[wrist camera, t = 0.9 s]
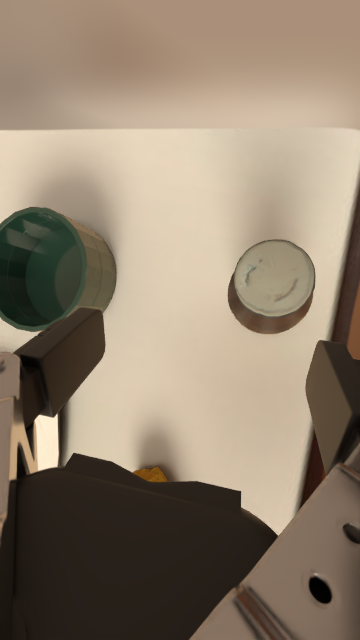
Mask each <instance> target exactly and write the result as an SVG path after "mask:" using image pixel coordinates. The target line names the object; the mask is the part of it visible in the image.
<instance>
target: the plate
mask: <svg viewBox="0 0 360 640" xmlns="http://www.w3.org/2000/svg"><path fill="white" fill-rule="evenodd" d="M35 424H36V434H37V459H38V471H40V470H44V469H48V468H53V467H59V461H60V413H59V412H58V413H57V414H56V416H55V417H54V418H52V417H47V416H42V415H39V416H38V417H37V418H36V419H35Z"/></svg>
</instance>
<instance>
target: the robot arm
mask: <svg viewBox="0 0 360 640" xmlns="http://www.w3.org/2000/svg"><path fill="white" fill-rule="evenodd" d="M104 352H105V334H104V322H103V314H102V311H101V310H100V309H94V308H86V307H80V308H78V309H77V310H76V311H75V312H73V313H72V314H71V315H69V316H68V317H66V318H63V319H61V320H58V321H56V322H54V323H52V324H51V325H50V326H48V327H47V328H46V329H45V330H43V331H42V332H40V333H39V334H38V336H35V337H34V338H32V339H31V340H30V341H28V342H27V343H26V344H24V345H23V346H22V347H20V348H19V349H17V350H16V351H15V352H13V353H7V352H2V353H0V640H360V360H355V359H353V358H352V357H351V355H350V353H349V352H348V349H347V347H346V346H345V344H344V343H338V342H330V341H323V340H319V341H318V343H317V345H316V348H315V351H314V355H313V358H312V361H311V365H310V368H309V372H308V375H307V379H306V396H307V400H308V404H309V408H310V412H311V416H312V420H313V424H314V428H315V432H316V436H317V440H318V444H319V448H320V452H321V456H322V460H323V464H324V468H325V472H326V478H325V479H324V480H323V481H322V483H321V484H320V485H319V486H318V488H317V489H316V490H315V491H314V493H313V494H312V495H311V496H310V498H309V499H308V500H307V501H306V503H305V504H304V505H303V506H302V508H301V509H300V510H299V511H298V513H297V514H296V515H295V516H294V518H293V519H292V520H291V521H290V523H289V524H288V525H287V526H286V528H285V529H284V530H283V532H282V533H281V534H280V535H279V536H278V535H277V534H276V533H275V532H274V531H273V530H272V529H271V528H270V527H269V526H268V525H266V524H265V523H264V522H263V521H262V520H260V519H259V518H258V517H256V516H255V515H253V514H252V513H250V512H249V511H247V510H245V509H243V508H241V491H236V490H232V489H228V488H223V487H219V486H215V485H211V484H206V483H202V482H198V481H187V482H150V481H147V480H145V479H143V478H141V477H139V476H137V475H135V474H134V473H132V472H130V471H128V470H126V469H124V468H122V467H121V466H119V465H117V464H115V463H113V462H111V461H107V460H102V459H98V458H94V457H89V456H85V455H81V454H76V453H73V455H72V456H71V458H70V459H69V461H68V462H67V464H66V466H60V467H53V468H48V469H44V470H40V471H38V459H37V434H36V424H35V419H36V418H37V417H38V416H39V415H42V416H47V417H52V418H54V417H55V416H56V414H57V413H58V412H59V411H60V410H61V408H62V407H63V406H64V405H65V403H66V402H67V401H68V400H69V398H70V397H71V396H72V395H73V394H74V392H75V391H76V390H77V389H78V387H79V386H80V385H81V384H82V383H83V381H84V380H85V379H86V378H87V376H88V375H89V374H90V373H91V371H92V370H93V369H94V368H95V367H96V365H97V364H98V363H99V362H100V360H101V359H102V357H103V355H104Z"/></svg>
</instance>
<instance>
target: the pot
mask: <svg viewBox="0 0 360 640" xmlns="http://www.w3.org/2000/svg"><path fill="white" fill-rule="evenodd" d="M115 284H116V268H115V262H114V258H113V256H112V253H111V251H110V249H109V247H108V246H107V244H106V243H105V241H104V240H103V239H102V238H101V237H100V236H99V235H97V234H96V233H95V232H93V231H92V230H90V229H88V228H87V227H85V226H83V225H81V224H79V223H77V222H75V221H73V220H71V219H69V218H67V217H65V216H63V215H61V214H59V213H57V212H55V211H53V210H51V209H49V208H38V207H30V208H26V209H23V210H20V211H17V212H15V213H13V214H12V215H11V216H9V217H8V218H7V219H5V220H4V221H3V222H2V223H1V224H0V317H1V319H2V320H3V321H5V322H7V323H8V324H10V325H11V326H13V327H15V328H16V329H20V330H25V331H30V332H41V331H43V330H45V329H46V328H47V327H48V326H50V325H51V324H52V323H54V322H56V321H58V320H61V319H63V318H66V317H68V316H69V315H71V314H72V313H73V312H75V311H76V310H77V309H78V308H80V307H86V308H94V309H100V310H101V311H102V313H103V312H104V311H105V309H106V308H107V306H108V305H109V303H110V301H111V299H112V296H113V293H114V289H115Z"/></svg>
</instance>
